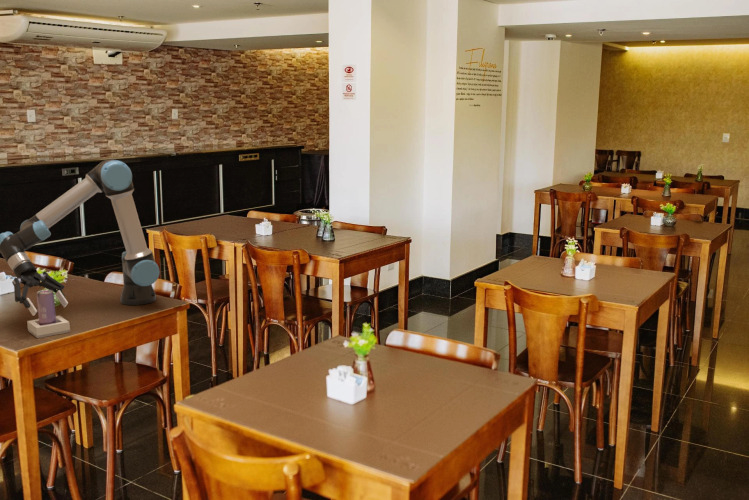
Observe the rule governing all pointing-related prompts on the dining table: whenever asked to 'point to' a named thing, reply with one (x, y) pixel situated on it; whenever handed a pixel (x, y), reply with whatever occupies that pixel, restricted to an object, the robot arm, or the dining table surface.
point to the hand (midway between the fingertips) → (51, 309)
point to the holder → (48, 327)
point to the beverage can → (46, 307)
